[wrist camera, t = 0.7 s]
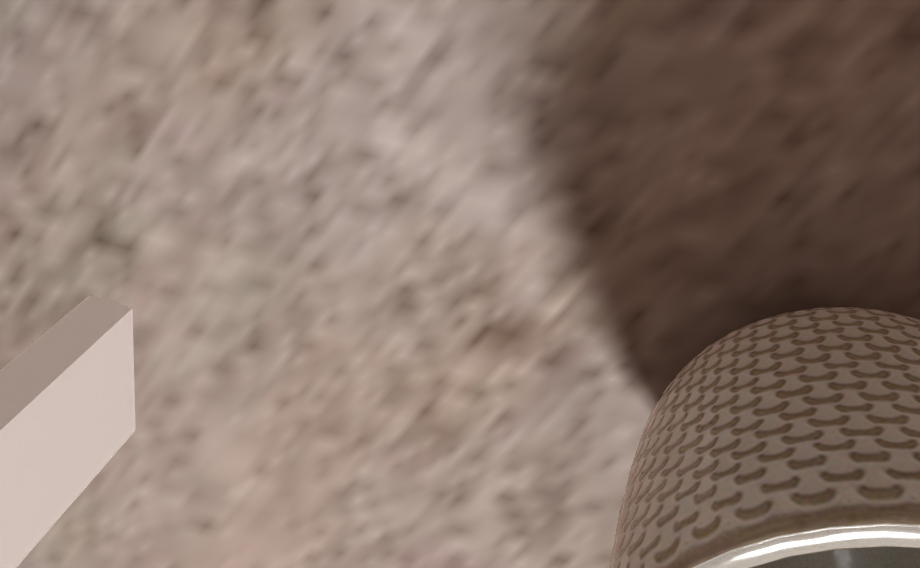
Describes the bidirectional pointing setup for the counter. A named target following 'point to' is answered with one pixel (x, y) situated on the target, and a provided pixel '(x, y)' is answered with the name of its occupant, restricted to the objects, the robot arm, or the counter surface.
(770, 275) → the counter surface
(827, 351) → the planter
